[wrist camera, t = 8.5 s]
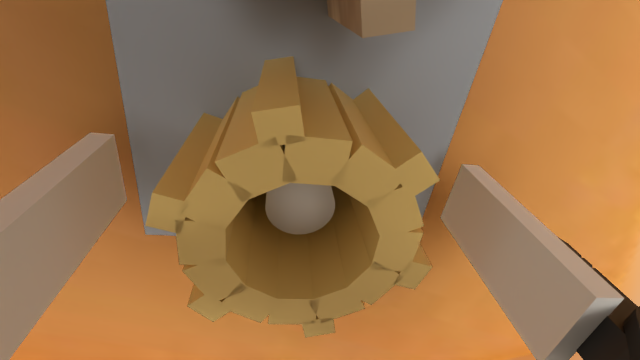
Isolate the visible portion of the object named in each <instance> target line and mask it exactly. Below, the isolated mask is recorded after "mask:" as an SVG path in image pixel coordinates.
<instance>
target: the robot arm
mask: <svg viewBox="0 0 640 360" xmlns="http://www.w3.org/2000/svg"><path fill="white" fill-rule="evenodd" d="M126 201H127V197H126V191H125V186H124V181H123V176H122V171H121V166H120V160H119V155H118V150H117V145H116V140H115V135H114V134H103V133H91V132H90V133H89V134H87V135H86V136H85V137H83V138H82V139H81V140H79V141H78V142H77V143H75V144H74V145H73V146H71V147H70V148H69V149H67V150H66V151H65V152H63V153H62V154H61V155H59V156H58V157H57V158H55V159H54V160H53V161H51V162H50V163H49V164H47V165H46V166H45V167H43V168H42V169H41V170H39V171H38V172H37V173H35V174H34V175H33V176H31V177H30V178H29V179H27V180H26V181H25V182H23V183H22V184H20V185H19V186H18V187H16V188H15V189H14V190H12V191H11V192H10V193H8V194H7V195H6V196H4V197H3V198H2V199H0V360H9V359H10V358H11V356H12V355H13V354H14V352H15V351H16V350H17V348H18V347H19V346H20V344H21V343H22V342H23V340H24V339H25V338H26V336H27V335H28V333H29V332H30V331H31V329H32V328H33V327H34V325H35V324H36V323H37V321H38V320H39V319H40V317H41V316H42V315H43V313H44V312H45V311H46V309H47V308H48V306H49V305H50V304H51V302H52V301H53V300H54V298H55V297H56V296H57V294H58V293H59V292H60V290H61V289H62V288H63V286H64V285H65V283H66V282H67V281H68V279H69V278H70V277H71V275H72V274H73V273H74V271H75V270H76V269H77V267H78V266H79V265H80V263H81V262H82V260H83V259H84V258H85V256H86V255H87V254H88V252H89V251H90V250H91V248H92V247H93V246H94V244H95V243H96V242H97V240H98V239H99V237H100V236H101V235H102V233H103V232H104V231H105V229H106V228H107V227H108V225H109V224H110V223H111V221H112V220H113V219H114V217H115V216H116V215H117V213H118V212H119V210H120V209H121V208H122V206H123V205H124V204H125V202H126ZM440 218H441V220H442V221H443V223H444V224H445V226H446V227H447V229H448V230H449V232H450V233H451V235H452V236H453V238H454V239H455V240H456V242H457V243H458V245H459V246H460V248H461V249H462V251H463V252H464V254H465V255H466V257H467V258H468V260H469V261H470V263H471V264H472V266H473V267H474V269H475V270H476V271H477V273H478V274H479V276H480V277H481V279H482V280H483V282H484V283H485V285H486V286H487V288H488V289H489V291H490V292H491V294H492V295H493V297H494V298H495V300H496V301H497V302H498V304H499V305H500V307H501V308H502V310H503V311H504V313H505V314H506V316H507V317H508V319H509V320H510V322H511V323H512V325H513V326H514V328H515V329H516V331H517V332H518V333H519V335H520V336H521V338H522V339H523V341H524V342H525V344H526V345H527V347H528V348H529V350H530V351H531V353H532V354H533V356H534V357H535V358H536V360H569V359H570V358H571V357H572V356H573V355H574V354H575V352H576V351H577V352H578V353H579V355H580V356H581V357H582V358H583V360H640V306H639V307H638V306H636V305H635V304H634V303H633V302H632V301H631V300H630V299H629V298H628V297H626V296H625V295H624V294H623V293H622V292H621V291H620V290H619V289H618V288H617V287H616V286H614V285H613V284H612V283H611V282H610V281H609V280H608V279H607V278H606V277H604V276H603V275H602V274H601V273H600V272H599V271H598V270H597V269H596V268H592V265H591V264H590V263H589V262H588V261H587V260H586V259H585V258H581V255H580V254H579V253H578V252H577V251H576V250H575V249H573V248H572V247H571V246H570V245H569V244H568V243H566V242H565V241H563V240H561V239H560V238H558V237H557V236H556V235H555V234H554V233H552V232H551V231H550V230H549V229H548V228H547V227H546V226H545V225H544V224H543V223H542V222H540V221H539V220H538V219H537V218H536V217H535V216H534V215H533V214H532V213H531V212H529V211H528V210H527V209H526V208H525V207H524V206H523V205H522V204H521V203H520V202H519V201H517V200H516V199H515V198H514V197H513V196H512V195H511V194H510V193H509V192H508V191H506V190H505V189H504V188H503V187H502V186H501V185H500V184H499V183H498V182H497V181H496V180H494V179H493V178H492V177H491V176H490V175H489V174H488V173H487V172H486V171H485V170H483V169H482V168H481V167H480V166H479V165H467V164H462V165H461V168H460V170H459V173H458V175H457V178H456V180H455V183H454V185H453V187H452V190H451V192H450V195H449V197H448V200H447V202H446V205H445V207H444V210H443V212H442V215H441V217H440Z"/></svg>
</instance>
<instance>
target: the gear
mask: <svg viewBox="0 0 640 360" xmlns="http://www.w3.org/2000/svg"><path fill="white" fill-rule="evenodd" d="M327 8H328V16H329V17H331V18H332V19H334V20H335V21H337V22H338V23H340V24H341V25H343V26H344V27H346V28H348V29H349V30H351V31H352V32H354V33H355V34H357V35H358V36H360V37H361V38H367V37H373V36H380V35H387V34H394V33H401V32H407V31H414V30H415V15H416V0H327Z"/></svg>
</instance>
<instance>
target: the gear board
mask: <svg viewBox="0 0 640 360" xmlns="http://www.w3.org/2000/svg"><path fill="white" fill-rule="evenodd" d="M502 2H503V0H416V15H415V30H414V31H407V32H401V33H394V34H387V35H380V36H373V37H367V38H361V37H360V36H358V35H357V34H355V33H354V32H352V31H351V30H349V29H348V28H346V27H344V26H343V25H341V24H340V23H338V22H337V21H335V20H334V19H332V18H331V17H329V16H328V8H327V0H106V5H107V11H108V17H109V23H110V29H111V35H112V41H113V46H114V52H115V58H116V64H117V70H118V76H119V82H120V87H121V93H122V99H123V105H124V111H125V117H126V123H127V128H128V134H129V140H130V146H131V152H132V158H133V164H134V170H135V175H136V181H137V187H138V193H139V199H140V205H141V211H142V216H143V222H144V228H145V234H147V235H171V236H176V233H173V232H169V231H165V230H161V229H156V228H152V227H148V226H145V225H146V220H147V215H148V210H149V205H150V200H151V195H152V192H153V190H154V189H155V187H156V186H157V184H158V183H159V181H160V180H161V178H162V177H163V175H164V173H165V172H166V170H167V169H168V167H169V166H170V164H171V163H172V161H173V159H174V158H175V156H176V155H177V153H178V152H179V150H180V149H181V147H182V145H183V144H184V142H185V141H186V139H187V138H188V136H189V135H190V133H191V132H192V130H193V128H194V127H195V125H196V124H197V122H198V121H199V119H200V118H201V116H202V114H203V113H207V114H209V115H212V116H215V117H218V118H221V119H223V118H224V116H225V115H226V113H227V112H228V110H229V109H230V107H231V106H232V104H233V103H234V101H235V100H236V98H237V97H239V98H240V97H241V95H242V92H244V91H247V90H249V89H251V88H253V87H256V86H258V84H259V80H260V77H261V73H262V69H263V65H264V62H265V60H270V59H277V58H284V57H291V56H293V57H294V64H295V70H296V76H297V77H304V78H312V79H320V80H326V82H327V85H328V86H329V85H330V84H331V83H333V84H334V85H335V86H336V87H338V88H339V89H340V90H341V91H343V92H344V93H345V94H347V95H348V96H349V97H350V98H352V99H355V98H356V97H357V96H359V95H360V94H361V93H363V92H364V91H365V90H367V89H368V88H369V89H370V90H371V92H372V93H373V94H374V95H375V96H376V98H377V99H378V100H379V101H380V102H381V104H382V105H383V106H384V107H385V108H386V110H387V111H388V112H389V113H390V114H391V116H392V117H393V118H394V119H395V120H396V122H397V123H398V124H399V125H400V126H401V127H402V129H403V130H404V131H405V132H406V133H407V135H408V136H409V137H410V138H411V139H412V141H413V142H414V143H415V144H416V145H417V147H418V148H419V149H420V150H421V151H422V153H423V154H424V156H425V157H426V159H427V161H428V162H429V164H430V165H431V167H432V168H433V170H434V171H435V173H436V174H437V176H438V174H439V171H440V169H441V166H442V163H443V161H444V158H445V155H446V153H447V150H448V147H449V144H450V142H451V139H452V136H453V134H454V131H455V128H456V126H457V123H458V120H459V117H460V115H461V112H462V109H463V107H464V104H465V101H466V99H467V96H468V93H469V91H470V88H471V85H472V82H473V80H474V77H475V74H476V72H477V69H478V66H479V64H480V61H481V58H482V55H483V53H484V50H485V47H486V45H487V42H488V39H489V37H490V34H491V31H492V29H493V26H494V23H495V20H496V18H497V15H498V12H499V10H500V7H501V4H502ZM434 185H435V184H433V185H432V186H430V187H429V188H427V189H425V190H424V191H422V192H421V193H419V194H417V195H416V196H415V197H416V200H417V204H418V207H419V211H420V214H421V217H423V214H424V212H425V209H426V206H427V204H428V201H429V198H430V196H431V193H432V190H433V188H434ZM265 210H266V214H267V217H268V219H269V220H270V222H271V223H272V224H273V225H274V226H275V227H276V228H278V229H279V230H281V231H284V232H286V233H290V234H308V233H312V232H315V231H317V230H319V229H321V228H322V227H323V226H325V225H326V224H327V223H328V222H329V221H330V219H331V218H332V216H333V214H334V210H335V200H334V196H333V191H332V187H331V186H327V185H313V184H299V183H288V184H286V185H283V186H281V187H278V188H276V189H273V190H271V191H268V192H267V193H266V204H265Z"/></svg>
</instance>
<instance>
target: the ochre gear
mask: <svg viewBox="0 0 640 360" xmlns="http://www.w3.org/2000/svg"><path fill="white" fill-rule="evenodd" d="M438 181H440V179H439V177H438V176H437V174H436V173H435V171H434V170H433V168H432V167H431V165H430V164H429V162H428V161H427V159H426V157H425V156H424V154H423V153H422V151H421V150H420V149H419V148H418V147H417V145H416V144H415V143H414V142H413V141H412V139H411V138H410V137H409V136H408V135H407V133H406V132H405V131H404V130H403V129H402V127H401V126H400V125H399V124H398V123H397V122H396V120H395V119H394V118H393V117H392V116H391V114H390V113H389V112H388V111H387V110H386V108H385V107H384V106H383V105H382V104H381V102H380V101H379V100H378V99H377V98H376V96H375V95H374V94H373V93H372V92H371V90H370V89H369V88H368V89H367V90H365V91H364V92H363V93H361V94H360V95H359V96H357V97H356V98H355V99H352V98H350V97H349V96H348V95H347V94H345V93H344V92H343V91H341V90H340V89H339V88H338V87H336V86H335V85H334V84H333V83H331V84H330V85H329V86H328V85H327V82H326V80H320V79H312V78H304V77H297V76H296V70H295V64H294V57H293V56H291V57H284V58H277V59H270V60H265V62H264V65H263V69H262V73H261V77H260V80H259V84H258V86H256V87H253V88H251V89H249V90H247V91H244V92H242V95H241V97H240V98H239V97H237V98H236V100H235V101H234V103H233V104H232V106H231V107H230V109H229V110H228V112H227V113H226V115H225V116H224V118H223V119H221V118H218V117H215V116H212V115H209V114H207V113H203V114H202V116H201V118H200V119H199V121H198V122H197V124H196V125H195V127H194V128H193V130H192V132H191V133H190V135H189V136H188V138H187V139H186V141H185V142H184V144H183V145H182V147H181V149H180V150H179V152H178V153H177V155H176V156H175V158H174V159H173V161H172V163H171V164H170V166H169V167H168V169H167V170H166V172H165V173H164V175H163V177H162V178H161V180H160V181H159V183H158V184H157V186H156V187H155V189H154V190H153V192H152V195H151V200H150V205H149V210H148V215H147V220H146V225H145V226H148V227H152V228H156V229H161V230H165V231H169V232H173V233H176V239H177V249H178V258H179V264H181V265H184V268H183V270H182V271H183V272H184V273H185V274H186V275H187V276H188V278H189V279H190V280H191V281H192V282H193V283H194V285H193V289H192V292H191V295H190V298H189V302H188V305H187V306H188V307H189V308H191V309H193V310H194V311H196V312H197V313H199V314H201V315H202V316H204V317H206V318H207V319H209V320H211V321H212V322H214V321H216V320H217V319H219V318H220V317H222V316H224V315H225V314H227V313H228V312H233V313H236V314H238V315H241V316H244V317H246V318H249V319H252V320H254V321H257V322H260V323H261V322H262V321H263V320H264V319H265V318H266V317H267V316H268V315H269V320H268V324H302V326H303V330H304V334H305V338H306V337H312V336H318V335H324V334H330V333H335V326H334V320H333V319H336V318H339V317H342V316H345V315H348V314H351V313H354V312H357V311H360V310H362V309H365V307H364V303H363V301H364V302H366V303H368V304H370V305H372V304H373V303H374V302H376V301H377V300H378V299H379V298H380V297H382V296H383V295H384V294H385V293H386V292H387V291H389V290H390V289H391V288H392V287H393V286H395V285H398V286H402V287H406V288H410V289H416V287H417V286H418V285H419V284H420V282H421V281H422V280H423V279H424V277H425V276H426V275H427V273H428V272H429V271H430V270H431V268H432V265H431V263H430V261H429V259H428V257H427V255H426V254H425V252H424V250H423V248H422V246H421V244H420V241H421V238H422V236H423V231H422V229H421V227H423V226H424V224H423V221H422V217H421V214H420V211H419V207H418V204H417V200H416V197H415V196H416V195H417V194H419V193H421V192H422V191H424V190H425V189H427V188H429V187H430V186H432V185H433V184H435V183H437V182H438ZM288 183H299V184H313V185H327V186H331V187H332V191H333V196H334V200H335V210H334V214H333V216H332V218H331V219H330V221H329V222H328V223H327V224H326V225H325V226H323V227H322V228H321V229H319V230H317V231H315V232H312V233H308V234H290V233H286V232H284V231H281V230H279V229H278V228H276V227H275V226H274V225H273V224H272V223H271V222H270V220H269V219H268V217H267V214H266V210H265V204H266V193H267V192H268V191H271V190H273V189H276V188H278V187H281V186H283V185H286V184H288Z"/></svg>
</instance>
